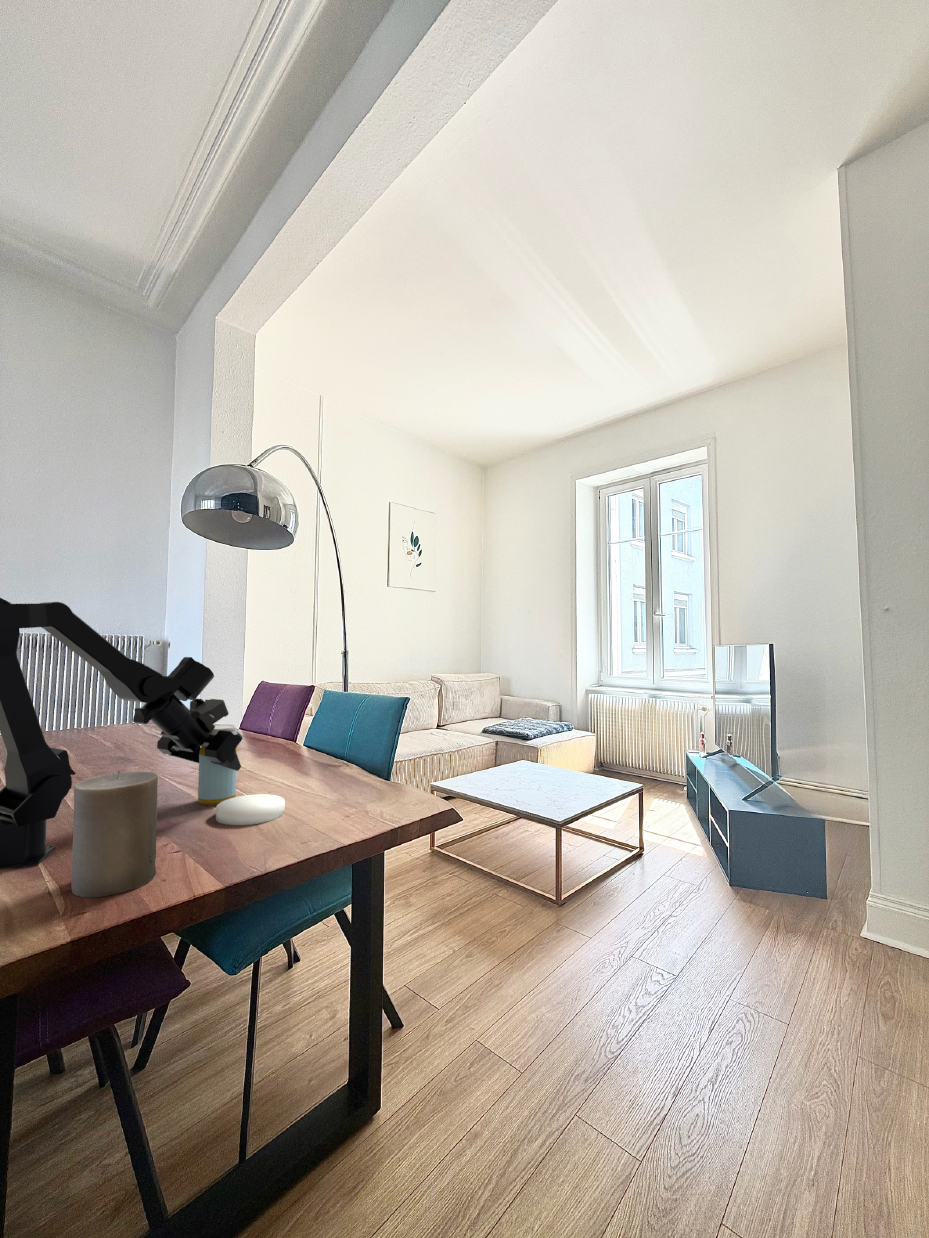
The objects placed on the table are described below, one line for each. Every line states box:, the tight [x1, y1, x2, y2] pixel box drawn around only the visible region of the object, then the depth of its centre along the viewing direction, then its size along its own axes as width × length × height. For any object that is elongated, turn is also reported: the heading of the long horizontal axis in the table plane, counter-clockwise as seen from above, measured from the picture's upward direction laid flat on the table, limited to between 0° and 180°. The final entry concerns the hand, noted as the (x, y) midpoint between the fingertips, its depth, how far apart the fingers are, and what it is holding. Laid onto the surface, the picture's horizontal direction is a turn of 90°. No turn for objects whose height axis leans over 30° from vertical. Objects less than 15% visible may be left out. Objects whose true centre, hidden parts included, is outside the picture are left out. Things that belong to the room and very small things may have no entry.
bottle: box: [197, 724, 238, 806], centre depth 108 cm, size 7×7×15 cm
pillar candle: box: [70, 769, 159, 899], centre depth 72 cm, size 10×10×15 cm
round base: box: [215, 793, 286, 826], centre depth 99 cm, size 12×12×2 cm
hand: (223, 766), depth 109 cm, fingers open, 9 cm apart
